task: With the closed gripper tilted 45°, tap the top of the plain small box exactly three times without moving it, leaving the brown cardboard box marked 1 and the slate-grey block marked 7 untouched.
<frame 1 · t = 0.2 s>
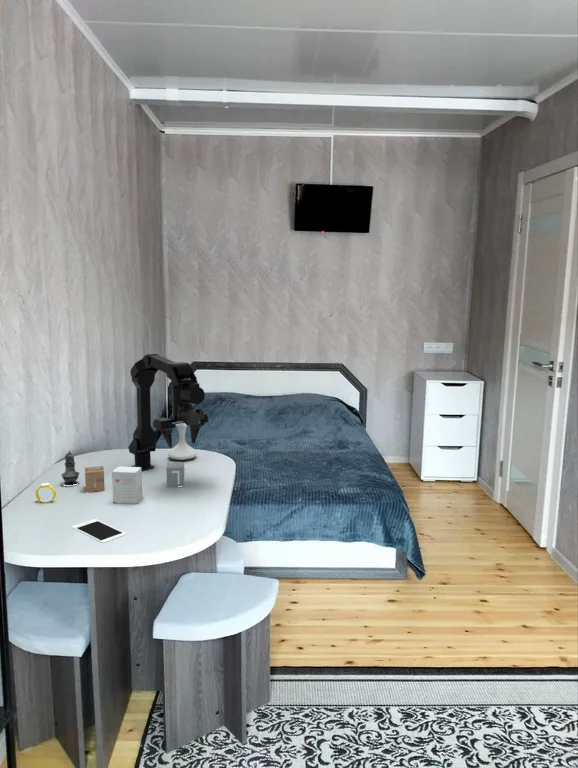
hand: (182, 445, 206), 15 cm above the table, tool pointing down, fingers open, 9 cm apart
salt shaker: (70, 484, 209), on the table
brown cardboard box: (95, 489, 205), on the table
cell phone: (98, 532, 171), on the table
flower in vase: (182, 459, 241), on the table
slate block: (175, 484, 211), on the table
watch: (46, 502, 193), on the table
small box: (128, 501, 195), on the table
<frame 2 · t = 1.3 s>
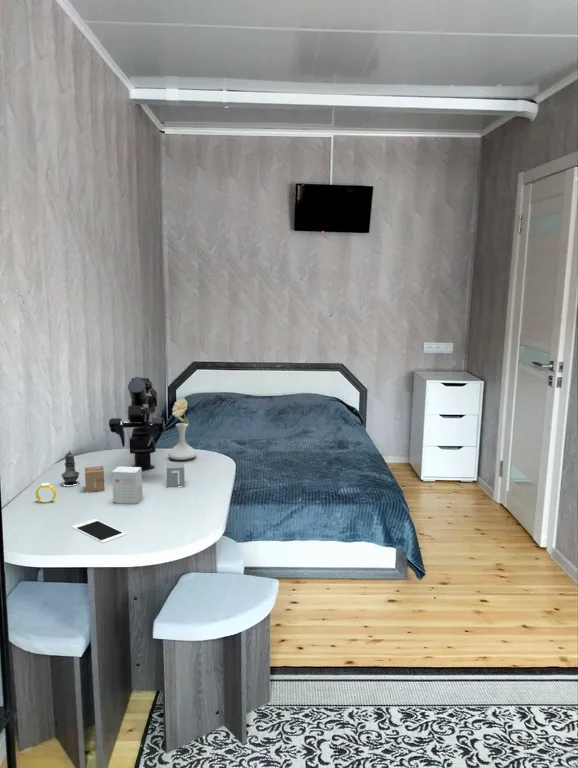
hand: (135, 446, 209), 13 cm above the table, tool tilted 45°, fingers open, 8 cm apart
nothing on the table moved.
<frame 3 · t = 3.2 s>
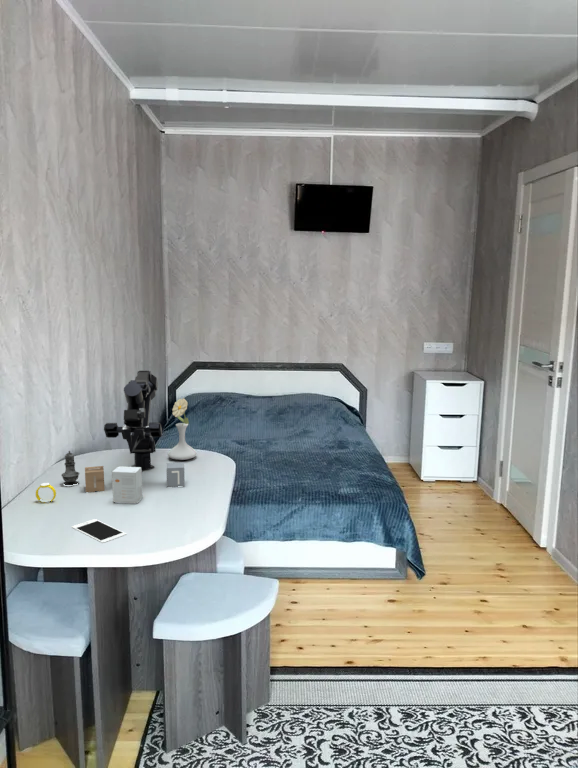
hand: (131, 451, 201), 14 cm above the table, tool tilted 45°, fingers closed
nothing on the table moved.
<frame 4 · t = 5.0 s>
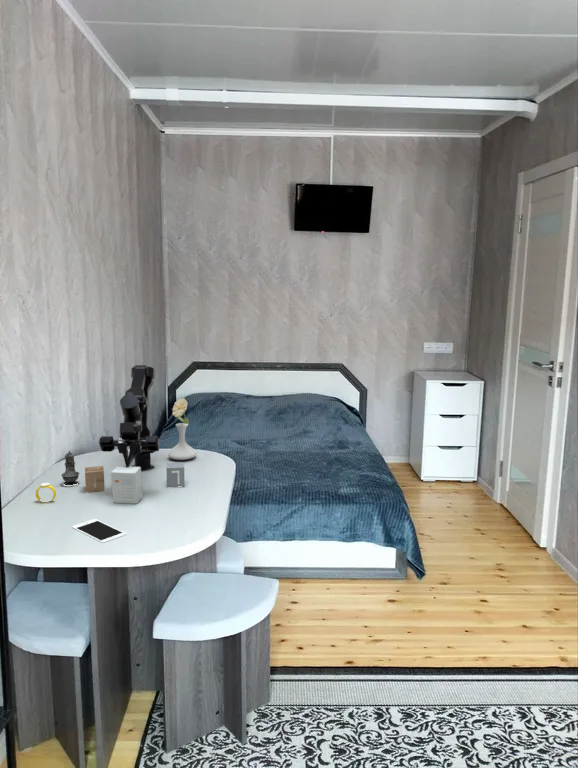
hand: (127, 466, 194), 11 cm above the table, tool tilted 45°, fingers closed, pressing on small box
small box: (128, 500, 195), on the table, touching gripper
everything else where it was.
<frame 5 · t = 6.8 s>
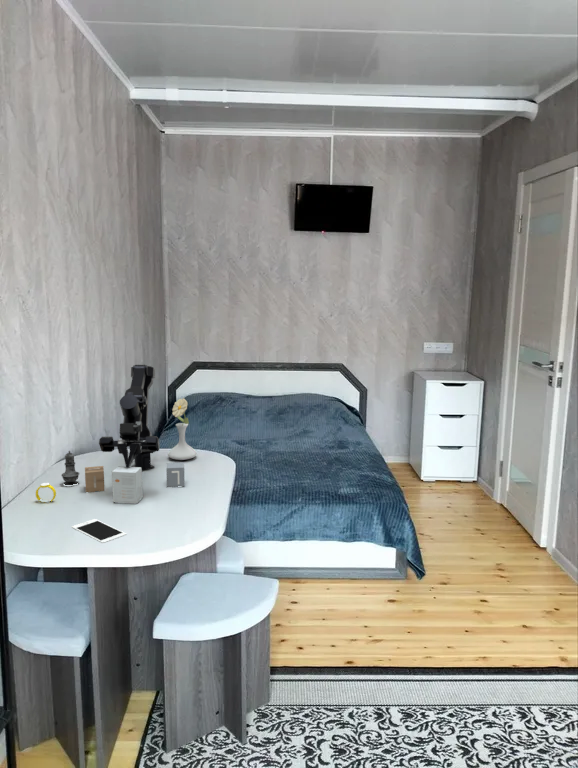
hand: (127, 467, 193), 11 cm above the table, tool tilted 45°, fingers closed
small box: (128, 501, 195), on the table
everything else where it was.
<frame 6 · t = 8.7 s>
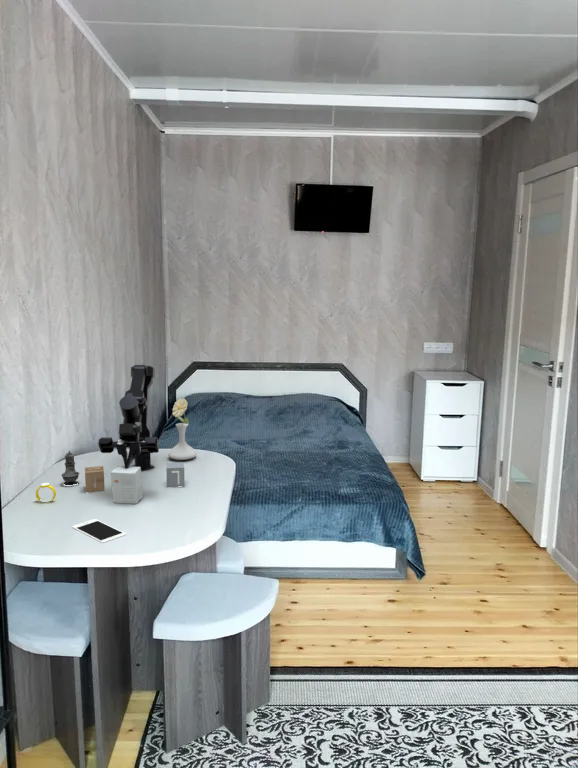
hand: (126, 467, 192), 11 cm above the table, tool tilted 45°, fingers closed, pressing on small box
small box: (128, 500, 195), on the table, touching gripper
everything else where it was.
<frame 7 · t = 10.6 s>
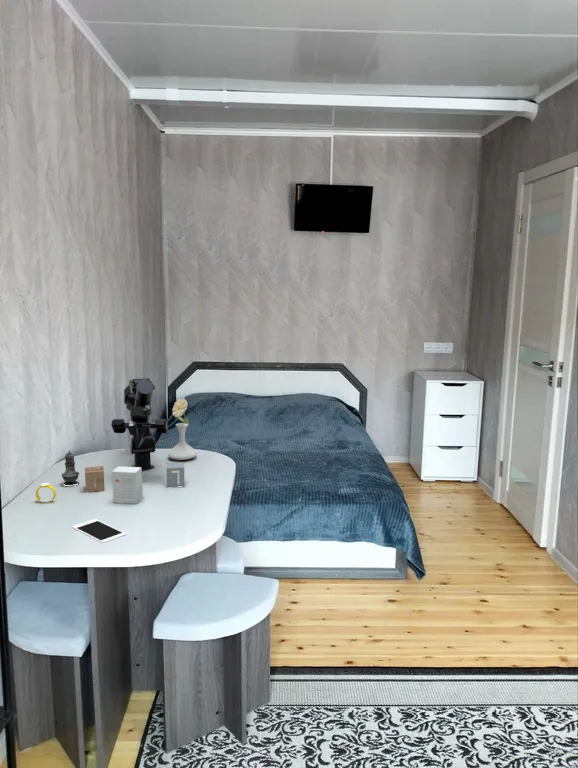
hand: (137, 447, 208), 13 cm above the table, tool tilted 45°, fingers closed
small box: (128, 501, 195), on the table
everything else where it was.
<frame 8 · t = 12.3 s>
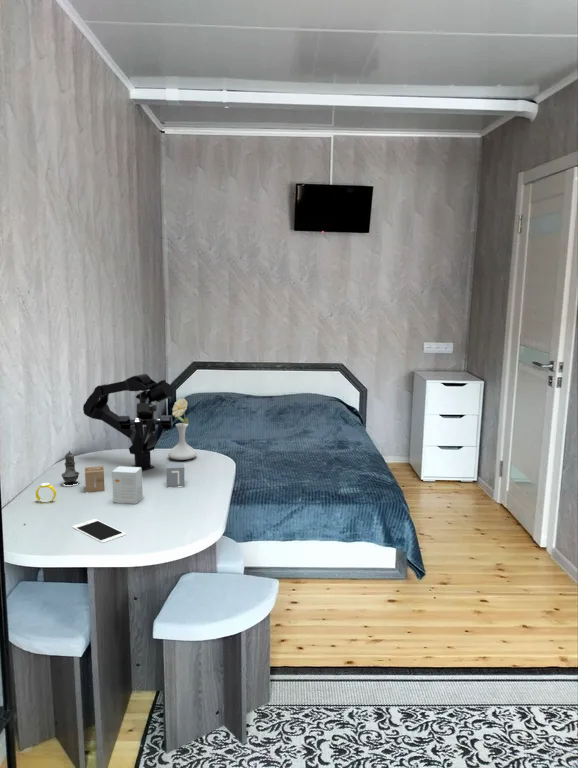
hand: (143, 443, 212), 14 cm above the table, tool tilted 45°, fingers closed
nothing on the table moved.
at the end: small box moved 0.3 cm from its start; small box tilted 0°; brown cardboard box moved 0.1 cm from its start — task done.
